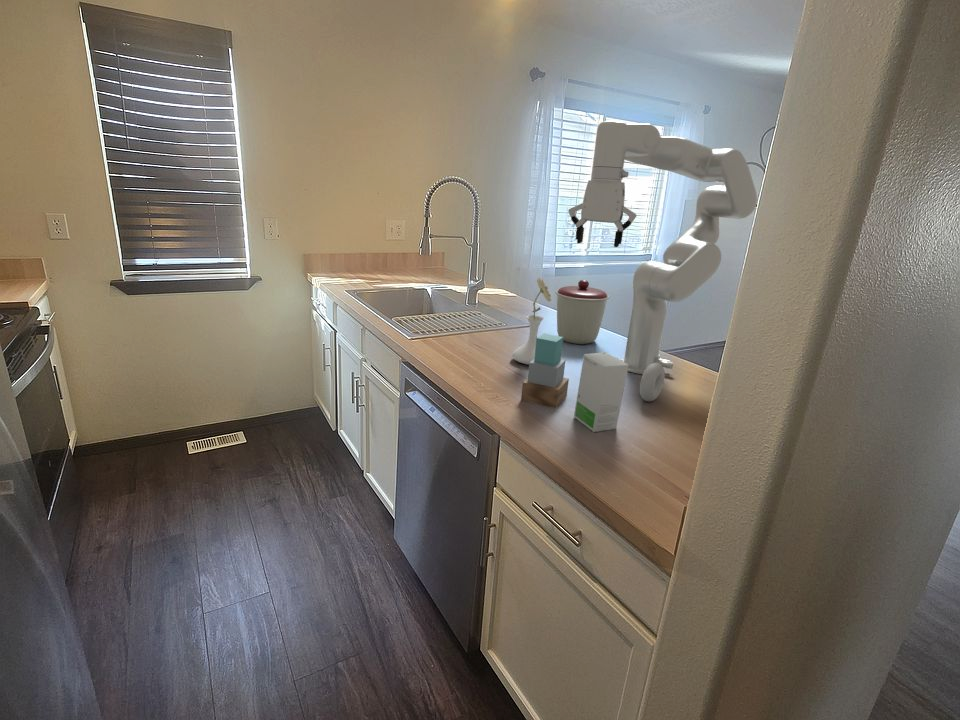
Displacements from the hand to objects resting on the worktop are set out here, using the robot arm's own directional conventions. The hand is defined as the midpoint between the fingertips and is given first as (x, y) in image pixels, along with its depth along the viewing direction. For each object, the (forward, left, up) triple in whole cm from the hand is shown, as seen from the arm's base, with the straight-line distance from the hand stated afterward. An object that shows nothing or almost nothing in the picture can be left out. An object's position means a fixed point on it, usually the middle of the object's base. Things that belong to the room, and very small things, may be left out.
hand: (597, 244), depth 135 cm
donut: (-20, +9, -36) cm, 43 cm away
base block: (+4, +22, -37) cm, 43 cm away
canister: (+10, -34, -36) cm, 51 cm away
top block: (+4, +22, -32) cm, 39 cm away
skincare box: (-11, +30, -36) cm, 49 cm away
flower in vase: (+16, -3, -36) cm, 40 cm away
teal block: (+4, +22, -27) cm, 35 cm away
